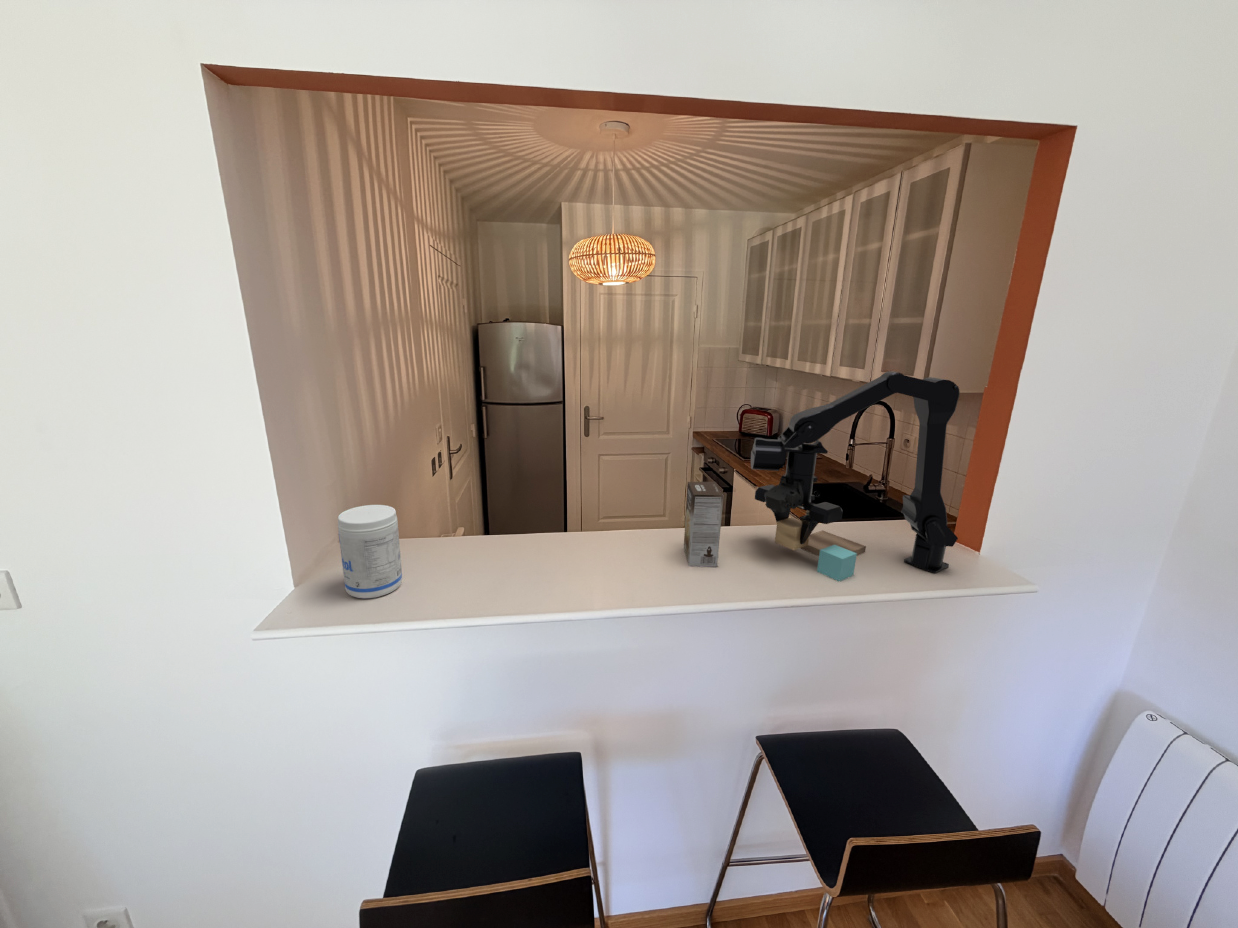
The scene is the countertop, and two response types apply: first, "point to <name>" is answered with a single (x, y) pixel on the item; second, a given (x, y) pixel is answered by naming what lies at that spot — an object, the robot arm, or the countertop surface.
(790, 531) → the oak block
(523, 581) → the countertop surface
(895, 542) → the countertop surface
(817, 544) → the walnut board
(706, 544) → the coffee box
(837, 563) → the teal block
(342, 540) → the supplement tub
